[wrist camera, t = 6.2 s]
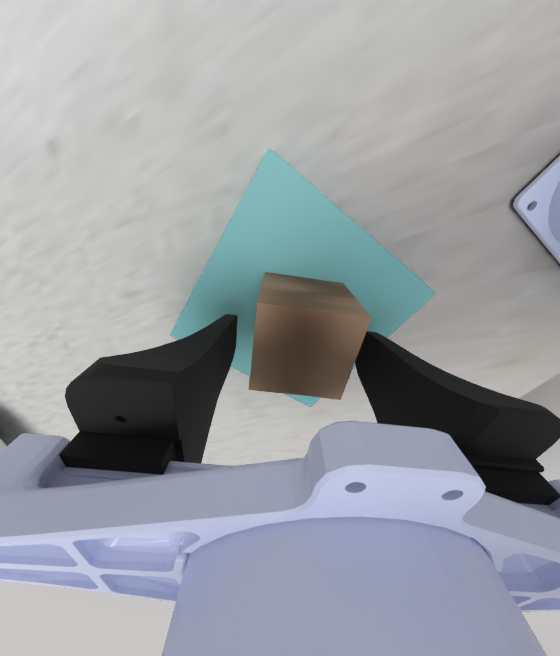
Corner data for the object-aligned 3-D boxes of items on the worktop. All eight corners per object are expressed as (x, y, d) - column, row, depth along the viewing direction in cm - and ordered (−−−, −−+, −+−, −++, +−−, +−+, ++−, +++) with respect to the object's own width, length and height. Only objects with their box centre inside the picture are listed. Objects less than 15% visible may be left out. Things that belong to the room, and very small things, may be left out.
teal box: (412, 279, 17) (436, 293, 14) (306, 383, 22) (310, 407, 19) (271, 158, 13) (268, 147, 11) (185, 316, 19) (169, 335, 16)
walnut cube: (343, 283, 14) (371, 317, 10) (324, 348, 16) (340, 399, 12) (265, 271, 14) (257, 302, 9) (257, 339, 16) (248, 389, 12)
